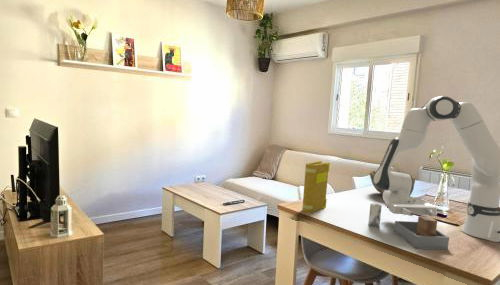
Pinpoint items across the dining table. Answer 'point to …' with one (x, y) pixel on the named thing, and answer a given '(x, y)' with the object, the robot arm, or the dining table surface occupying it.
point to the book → (315, 186)
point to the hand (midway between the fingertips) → (421, 214)
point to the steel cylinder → (374, 215)
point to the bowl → (384, 190)
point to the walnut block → (426, 226)
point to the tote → (424, 242)
